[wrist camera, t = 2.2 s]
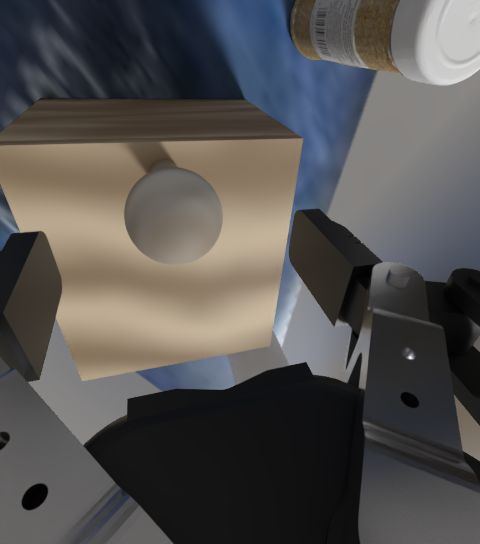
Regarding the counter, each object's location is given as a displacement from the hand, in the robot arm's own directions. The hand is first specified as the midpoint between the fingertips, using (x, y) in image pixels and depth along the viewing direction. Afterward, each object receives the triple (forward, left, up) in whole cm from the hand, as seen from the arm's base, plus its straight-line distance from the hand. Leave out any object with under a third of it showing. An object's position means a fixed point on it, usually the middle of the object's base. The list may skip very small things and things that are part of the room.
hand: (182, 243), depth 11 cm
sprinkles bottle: (-7, +12, -17) cm, 22 cm away
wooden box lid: (+6, 0, -7) cm, 9 cm away
